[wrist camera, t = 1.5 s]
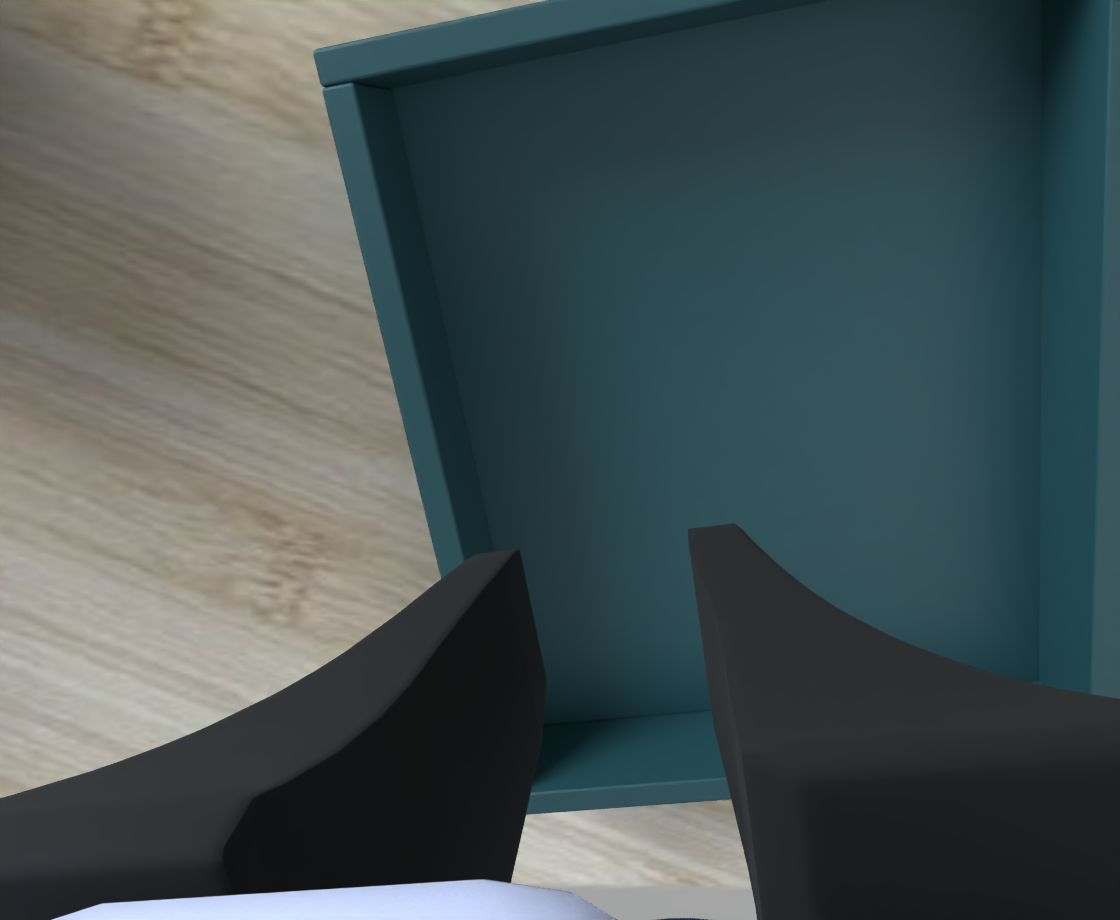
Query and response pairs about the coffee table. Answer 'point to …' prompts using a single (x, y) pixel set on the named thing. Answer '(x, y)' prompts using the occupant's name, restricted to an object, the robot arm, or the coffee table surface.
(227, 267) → the coffee table surface
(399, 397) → the tray
